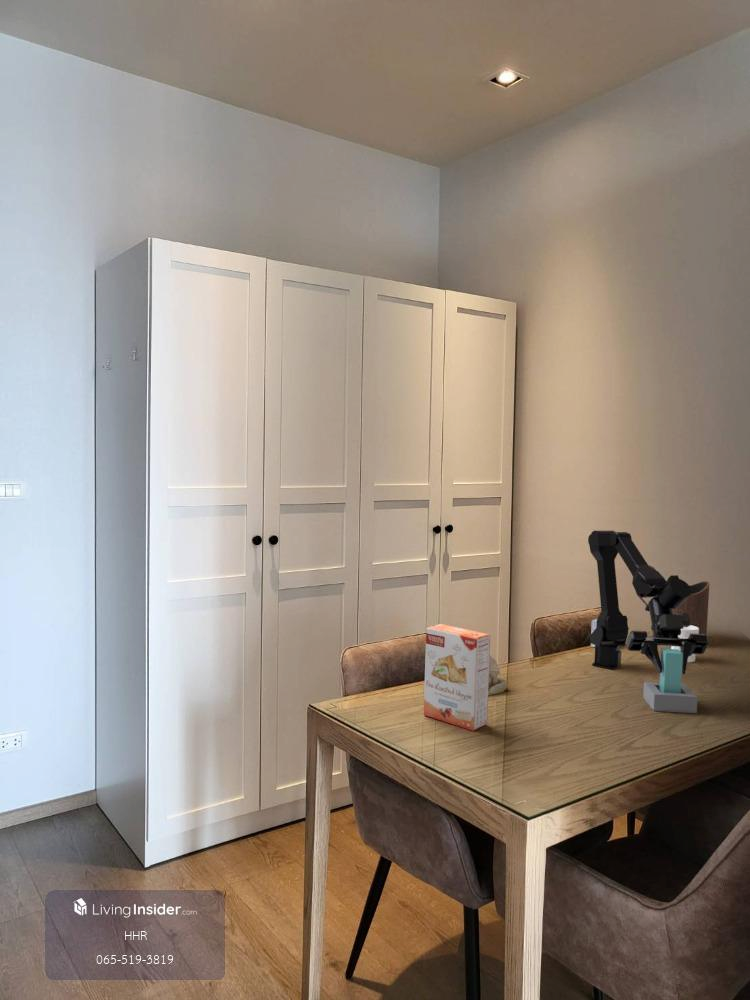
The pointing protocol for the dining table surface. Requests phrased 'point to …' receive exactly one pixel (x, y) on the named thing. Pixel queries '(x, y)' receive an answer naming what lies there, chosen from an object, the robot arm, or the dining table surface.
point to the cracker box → (457, 676)
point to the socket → (670, 699)
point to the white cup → (685, 635)
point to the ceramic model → (495, 678)
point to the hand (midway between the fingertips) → (672, 672)
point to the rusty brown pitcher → (695, 606)
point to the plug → (671, 671)
